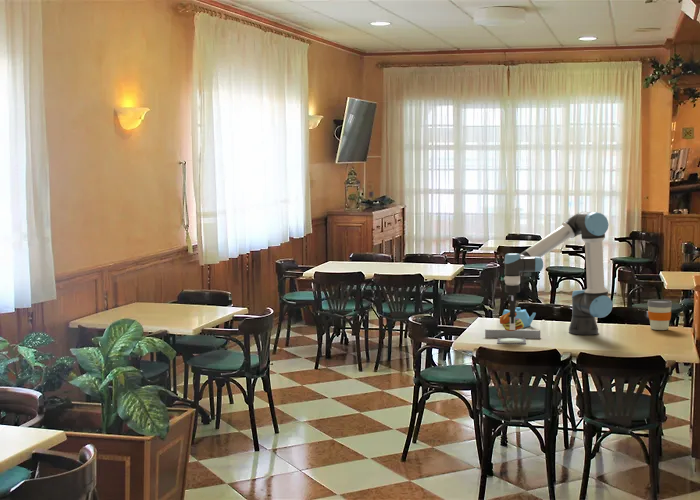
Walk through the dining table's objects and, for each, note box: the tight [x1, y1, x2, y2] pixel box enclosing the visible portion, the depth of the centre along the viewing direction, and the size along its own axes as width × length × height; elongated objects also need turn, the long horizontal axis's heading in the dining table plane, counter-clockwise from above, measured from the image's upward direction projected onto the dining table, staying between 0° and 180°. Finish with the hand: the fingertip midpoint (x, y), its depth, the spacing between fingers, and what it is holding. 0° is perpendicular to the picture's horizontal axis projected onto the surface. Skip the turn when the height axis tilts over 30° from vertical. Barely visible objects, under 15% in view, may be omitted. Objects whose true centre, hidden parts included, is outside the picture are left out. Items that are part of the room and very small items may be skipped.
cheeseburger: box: [499, 312, 525, 331], centre depth 418 cm, size 10×11×10 cm
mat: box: [496, 338, 527, 345], centre depth 418 cm, size 14×14×1 cm
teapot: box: [502, 306, 537, 328], centre depth 463 cm, size 15×15×11 cm
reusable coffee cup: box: [646, 299, 673, 331], centre depth 448 cm, size 13×13×15 cm
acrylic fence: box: [484, 328, 541, 339], centre depth 429 cm, size 28×1×4 cm, turn 79°
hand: (512, 328), depth 418 cm, fingers closed on cheeseburger, 10 cm apart
